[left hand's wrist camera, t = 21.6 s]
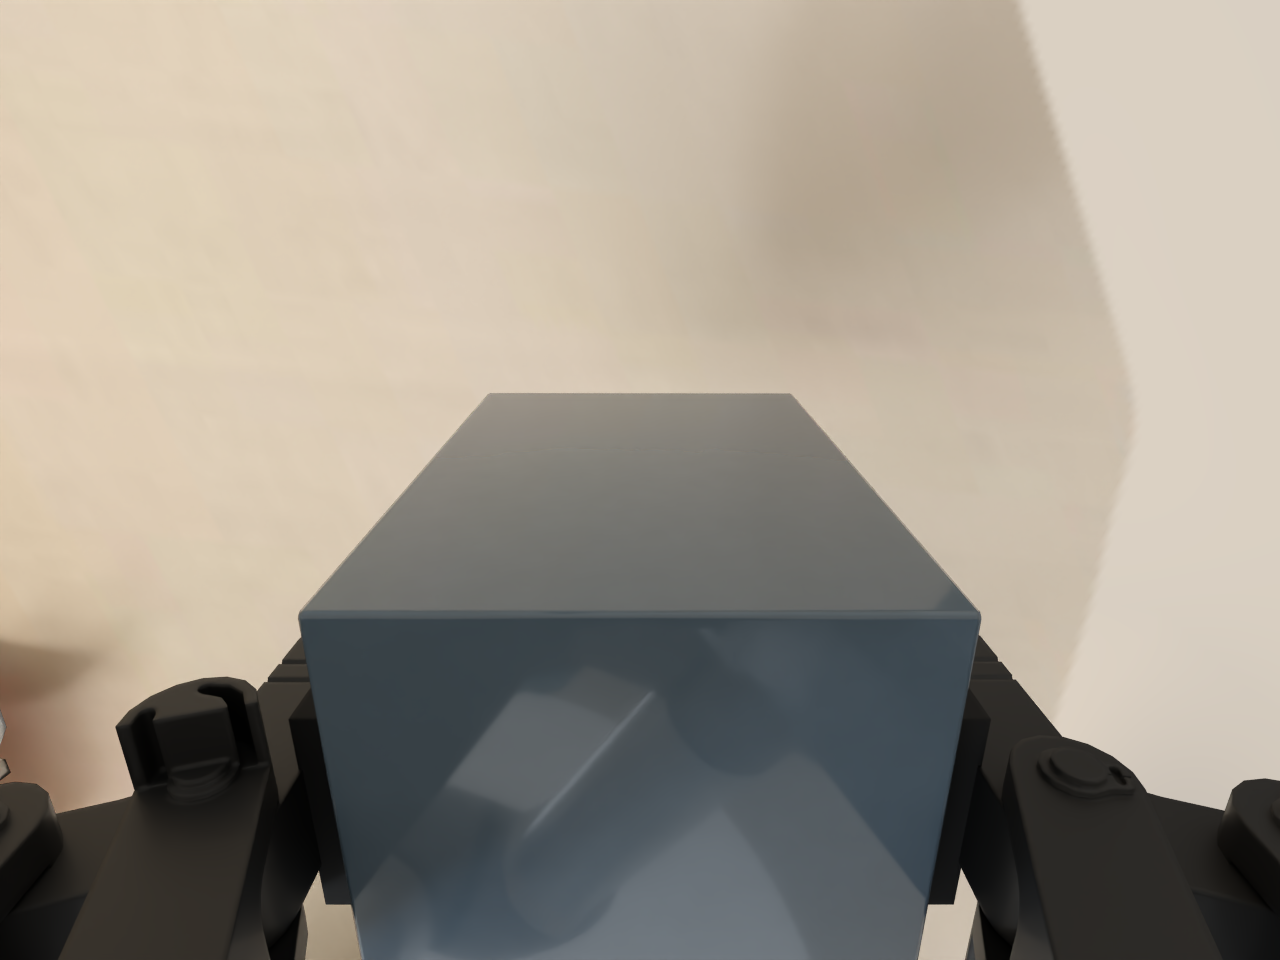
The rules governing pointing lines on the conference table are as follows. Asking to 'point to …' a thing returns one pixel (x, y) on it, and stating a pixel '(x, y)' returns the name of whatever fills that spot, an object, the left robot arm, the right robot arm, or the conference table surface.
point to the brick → (639, 692)
